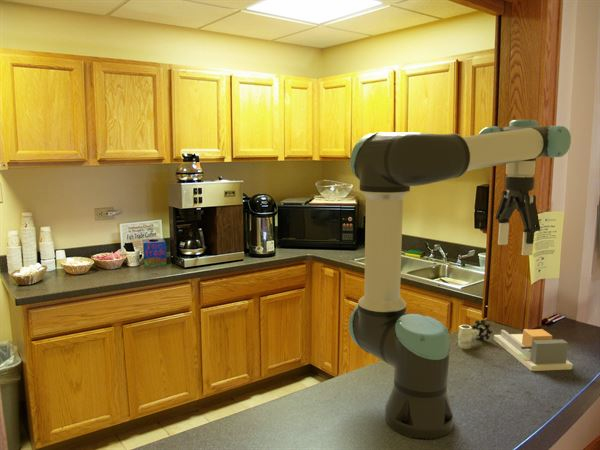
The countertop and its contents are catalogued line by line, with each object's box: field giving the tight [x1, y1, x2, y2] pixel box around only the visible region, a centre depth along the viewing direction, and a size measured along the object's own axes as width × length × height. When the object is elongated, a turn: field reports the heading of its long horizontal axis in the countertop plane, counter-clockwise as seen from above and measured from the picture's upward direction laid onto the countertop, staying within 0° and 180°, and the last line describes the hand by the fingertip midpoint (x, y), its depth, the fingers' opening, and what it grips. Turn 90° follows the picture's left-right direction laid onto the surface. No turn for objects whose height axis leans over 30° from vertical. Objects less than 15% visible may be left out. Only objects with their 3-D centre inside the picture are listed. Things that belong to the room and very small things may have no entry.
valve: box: [457, 319, 494, 350], centre depth 156 cm, size 7×7×12 cm
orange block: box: [521, 328, 553, 350], centre depth 146 cm, size 12×5×6 cm, turn 95°
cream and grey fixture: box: [493, 328, 574, 372], centre depth 149 cm, size 12×22×8 cm, turn 5°
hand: (514, 249), depth 144 cm, fingers open, 13 cm apart
